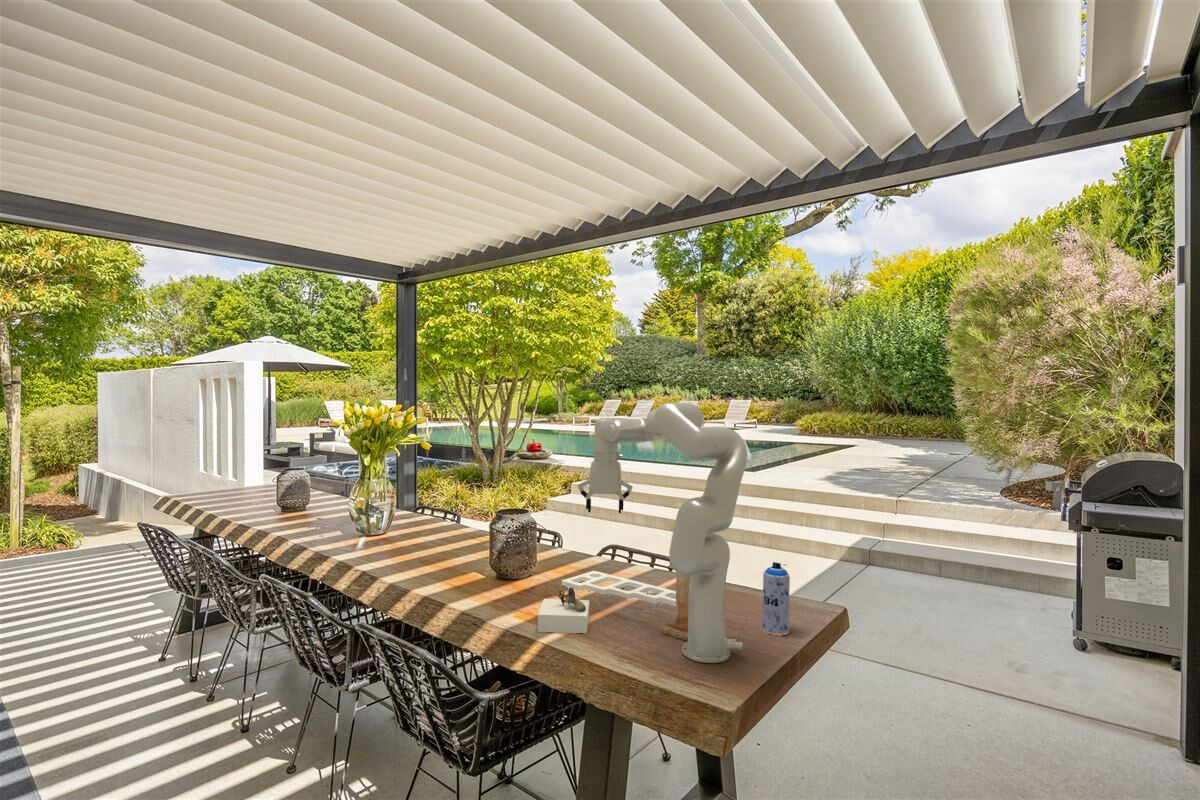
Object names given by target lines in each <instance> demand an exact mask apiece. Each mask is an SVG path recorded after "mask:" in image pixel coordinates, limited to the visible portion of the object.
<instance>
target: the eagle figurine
mask: <svg viewBox="0 0 1200 800" xmlns="http://www.w3.org/2000/svg"><path fill="white" fill-rule="evenodd" d="M567 591H568V592H567V593H565V590H559V591H558V593H556V592H555V591H553V594H554V596H556V597H558V599H560V600H561V602H562V604H563V605H564V602H565V610H566V609H567V608H568V606H569V604H570V603H573V604H574V605H575V607H576V609H577V611H578V612H585V611H586V607H585V605H584V604H583V603H582V602H581V601H579V600H580V599H578V598H577V597H576V591H574V589H573V588H569V587H568V589H567ZM564 599H565V600H564Z"/></svg>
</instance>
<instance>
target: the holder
mask: <svg viewBox="0 0 1200 800" xmlns="http://www.w3.org/2000/svg"><path fill="white" fill-rule="evenodd" d="M581 581H585V582H582V583H579V582H581ZM606 581H614V582H617V583H614V584H612V583H610V584H609V585H605V586H602V585H600V586H598V585H597V584H600V583H602V582H606ZM562 585H563V586H566V587H569V588H573V589H576V590H579V591H581V590H583V589H586V590H590V591H594V592H597V593H600V594H607V593H611V594H614V595H619V596H622V597H625V598H629V599H631V598H638V599H641V600H644V601H649V602H652V603H658V602H662V603H666V604H670V605H674V606H677V605H676V599H675V598H676V590H671V589H668V588H666V587H665V588H664V587H660V586H656V585H652V584H648V583H645V582H641V581H636V580H633V579H628V578H625V577H620V576H618V575H617V576H616V575H613V574H609V573H606V572H601V571H597V570H592V571H587V572H585V573H582V574H578V575H576V576H572V577H569V578H565V579H562V580H561V586H562ZM627 585H628V586H633V587H636V589H631V590H626V589H623V590H622V589H619V588H621V587H625V586H627ZM648 591H651V592H654V593H659V594H657V595H654V594H650V593H649V594H646V593H645V592H648ZM671 597H675V598H671Z"/></svg>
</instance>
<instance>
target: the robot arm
mask: <svg viewBox="0 0 1200 800" xmlns="http://www.w3.org/2000/svg"><path fill="white" fill-rule="evenodd" d="M704 415H705V414H704V412H703V411H702V409H701V408H700V406H697V405H696V404H695V403H694V404H693V403H690V402H666V403H663V404H661V405H660V406H659V407H658V408H657V409H653V410H651V411H650V412H649V413H648V414H647V417H643V418H615V419H614V418H598V419H596V420H595V421H594V443H593V444H594V447H593V460H592V461H591V465H590V468H589V469H590V470H589V478H588V479H587V480H585V481H582V482H580V483H579V484H578V485H577V488H578V490H579V492H580V494H581V495H582V496H583V497H584V498H585V500H586V501H585V503H586V504H585V509H586V510H587V513H591V511H592V498H591V497H592V496H593V495H617V496H618V498H619V499H618V514H622V511H624V500H626V499H627V497H628V496H630V493H631V492H632V490H633V488H634V487H633V486H632V485H631V484H629V483H628V482H626V481H624V480H622V468H621V462H620V461H619V460H623V454H620V453H619V444H633V443H634V444H641V443H647V442H653V441H657V440H662V439H665V440H667V441H668V442H669V443H670V444H671V445H673V447H675V449H677V450H678V452H680V453H681V454H682V455H683V456H685V458H688V459H689V460H694V461H707V460H708V461H709V460H710V461H711V460H715V461H716V462H715V464H714V465H713V467H712V468H711V469H710V472H709V474H708V476H707V477H706V479H707V480H706V484H705V489H704V492H703V494H702V495H701V496H698V497H692V498H689V499H687V500H686V501H684V502H683V503H682V504H681V505H680V507H679V508H678V511H677V515H676V517H675V522H674V527H673V532H672V536H671V539H670V540H671V541H670V546H669V562H670V565H671V567H672V570H674V572H675V573H676V574H677V573H678V574H680V575H683V576H691V578H690V583H689V609H688V642H687V641H685V643H683V644H682V646H681V653H682V654H683V656H685V657H686V658H688V659H689V660H692V661H695V662H699V663H704V664H717V663H722V662H725V661H727V660H728V659H729V658H730V657H731V650H736V651H737V650H739V651H740V650H743V642H742V641H736V640H737V639H736V638H727V637H726V635H725V630H726V629H725V628H726V627H725V626H726V625H725V623H726V621H725V620H726V588H727V587H726V585H727V574H728V569H729V565H730V564H729V563H730V559H731V549H730V546H729V543H728V541H727V540H726V538H724V536H722V535H721V534H718V533H721V532H724V531H725V530H728V529H729V527H730V526H731V525H732V522H733V518H734V515H735V511H736V507H737V506H736V505H737V502H738V501H737V500H738V497H739V493H740V487H741V483H742V481H743V480H742V479H743V476H744V474H745V470H746V467H747V462H748V461H747V460H748V451H747V447H746V444H745V441H744V439H743V438H742V436H741V435H740V434H739V433H738V432H736V431H735V430H733V429H731V428H729V427H725V426H703V424H704V421H705V416H704ZM586 486H588V488H589V491H588V492H586V490H585V489H584V487H586ZM622 486H623V487H624V488H626V491H625V492H624V493H623V492H622Z"/></svg>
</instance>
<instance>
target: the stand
mask: <svg viewBox="0 0 1200 800" xmlns="http://www.w3.org/2000/svg"><path fill="white" fill-rule="evenodd" d="M565 599H566V598H564V600H565ZM578 600H579V601H581V602H582V603H583V604H584V605H585V607H586V611H585V612H578V611H577V609H576V607H575V605H574V604H573V603H570V604H569V606H568V608H567V609H566V610H565V602H564V605H563V604H562V602H561V600H560V598H543V601H542V602H541V606H540V609H539V611H538V615H537V633H546V632H554V634H576V633H577V634H578V633H583V634H582V635H584V634H585V635H587V634H588V628H589V619H590V618H589V617H590V600H589V599H588V600H587V599H578ZM578 635H579V634H578Z"/></svg>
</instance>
